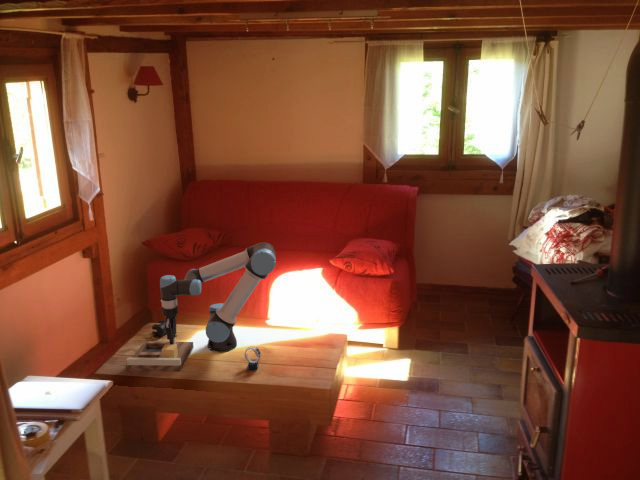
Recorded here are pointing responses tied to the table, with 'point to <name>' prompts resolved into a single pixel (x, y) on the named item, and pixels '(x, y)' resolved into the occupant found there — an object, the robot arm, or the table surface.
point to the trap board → (159, 357)
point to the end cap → (159, 329)
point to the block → (169, 351)
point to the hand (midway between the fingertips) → (172, 349)
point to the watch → (253, 363)
